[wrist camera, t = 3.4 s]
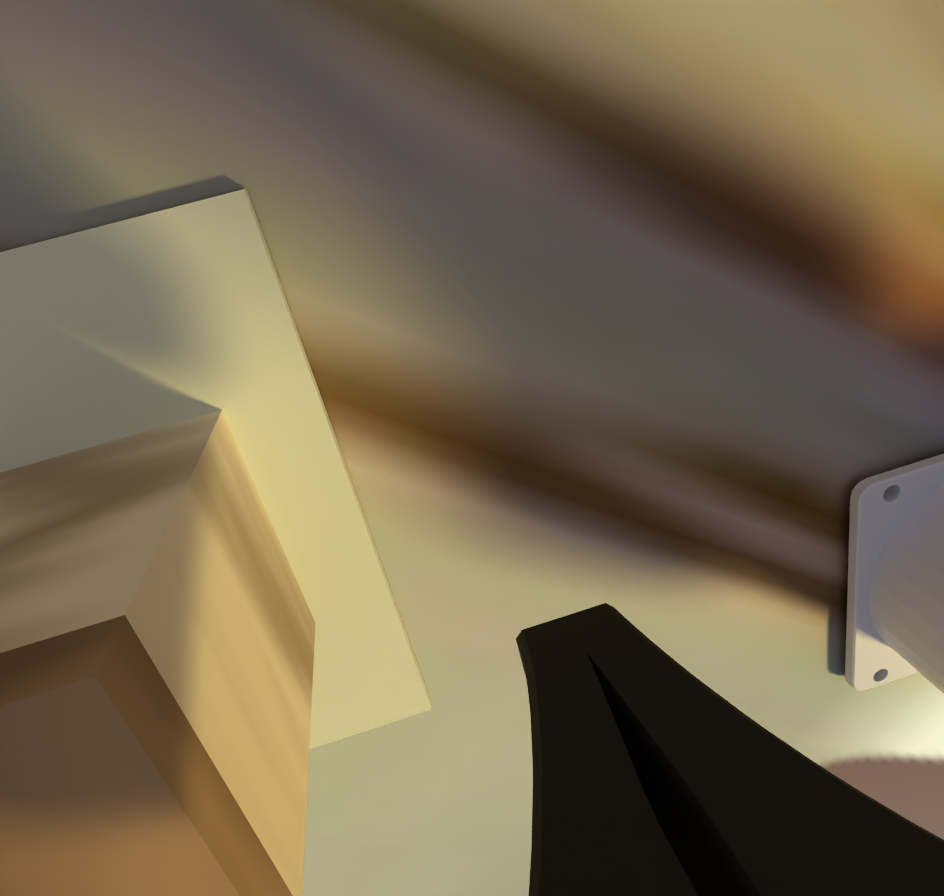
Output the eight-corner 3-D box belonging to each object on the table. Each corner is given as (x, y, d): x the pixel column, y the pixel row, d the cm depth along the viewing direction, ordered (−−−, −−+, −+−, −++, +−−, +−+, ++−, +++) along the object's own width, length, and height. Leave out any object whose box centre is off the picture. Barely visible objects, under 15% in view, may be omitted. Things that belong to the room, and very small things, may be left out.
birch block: (222, 409, 14) (94, 677, 7) (315, 623, 16) (297, 984, 9) (-65, 490, 13) (-541, 875, 6) (77, 697, 16) (-139, 1139, 9)
